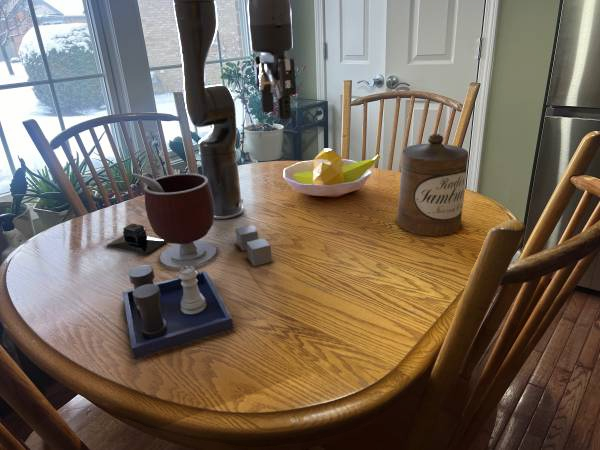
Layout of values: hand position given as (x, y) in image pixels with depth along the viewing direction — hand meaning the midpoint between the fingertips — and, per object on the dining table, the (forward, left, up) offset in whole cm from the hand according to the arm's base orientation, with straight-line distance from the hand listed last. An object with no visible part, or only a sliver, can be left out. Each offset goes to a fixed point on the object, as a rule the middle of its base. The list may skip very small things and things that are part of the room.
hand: (276, 115), depth 84 cm
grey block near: (0, -6, -30) cm, 31 cm away
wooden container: (+3, +37, -30) cm, 48 cm away
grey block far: (-8, -6, -30) cm, 32 cm away
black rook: (+9, -30, -30) cm, 43 cm away
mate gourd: (-10, -20, -30) cm, 38 cm away
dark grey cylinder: (+16, -30, -30) cm, 45 cm away
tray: (+12, -26, -30) cm, 42 cm away
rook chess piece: (+12, -23, -30) cm, 39 cm away
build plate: (-22, -29, -30) cm, 47 cm away
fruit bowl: (-31, +28, -30) cm, 52 cm away
